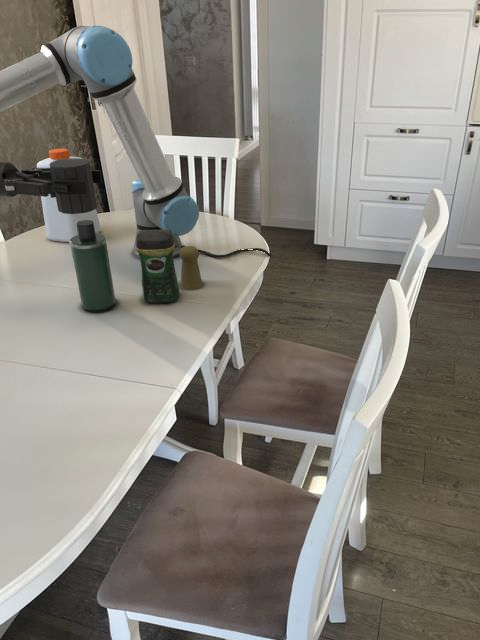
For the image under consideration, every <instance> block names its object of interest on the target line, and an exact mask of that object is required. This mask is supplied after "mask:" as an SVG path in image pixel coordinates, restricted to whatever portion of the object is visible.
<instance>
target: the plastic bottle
mask: <svg viewBox="0 0 480 640" xmlns="http://www.w3.org/2000/svg"><path fill="white" fill-rule="evenodd" d="M48 156H49V157H48V158H45V159H42V160H40V161H38V162H37V164H36V168H50V165H49V164H50V163H51V162H53V161H57V160H62V159H74V158H78V159H83V158H82V157H79V156H71V155H70V150H69V149H67V148H53V149H50V150H49V151H48ZM48 195H49V196H47V197H44V196H40V199H41V200H40V201H41V205H42V206H41V207H42V213H43V220H44V227H45V235H46V238H48V239H49V240H50V241H53V242H54V241H55V242H62V243H69V244H70V239H71V238H72V237H74V236H76V235H78V231H77V226H76V223H77V222H79V221H82V220H91V221H93V222H94V228H95V233H99V234H100V232H101V230H102V229H101V223H100V218H99V215H98V211H97V208H96V209H95V210H93V211H91V212H87V213H81V214H64V213H61V212H59V211H58V206H57V202H56V197H55V198H51V196H50V194H48Z"/></svg>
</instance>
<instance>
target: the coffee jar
mask: <svg viewBox="0 0 480 640" xmlns="http://www.w3.org/2000/svg"><path fill="white" fill-rule="evenodd" d="M136 233H137V232H136ZM135 237H136V250H137V252H138V254H139V256H140V258H139V260H140V268H141V292H142V293H141V294H142V299H143V301H144V302H146V303H148V304H163V303H164V304H165V303H168V304H169V303H173V302H175V301H177V300H178V299H179V297H180V293H181V292H180V286H179V281H178V276H177V272H176V266H175V261H174V257H173V251H174V248H175V242H174V238H173V234H172V231H171V230H170V229H166V230H139V232H138V233H137V236H136V235H135Z"/></svg>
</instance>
